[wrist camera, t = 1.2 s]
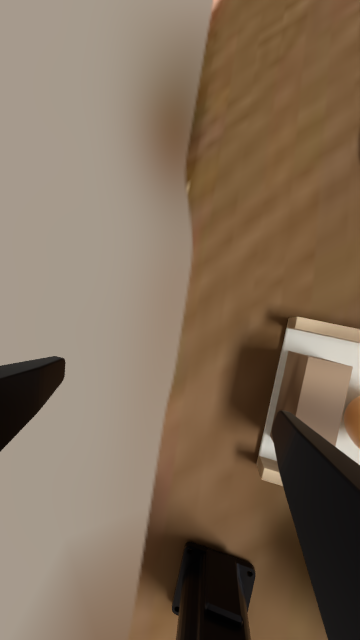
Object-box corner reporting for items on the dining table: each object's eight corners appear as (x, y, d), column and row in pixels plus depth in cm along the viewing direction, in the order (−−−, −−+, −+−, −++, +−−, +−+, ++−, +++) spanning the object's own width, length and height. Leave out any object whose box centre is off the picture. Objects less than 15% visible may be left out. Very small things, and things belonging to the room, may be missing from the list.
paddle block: (304, 445, 19) (328, 476, 15) (269, 436, 20) (285, 463, 16) (323, 358, 19) (352, 366, 15) (288, 350, 20) (308, 356, 16)
